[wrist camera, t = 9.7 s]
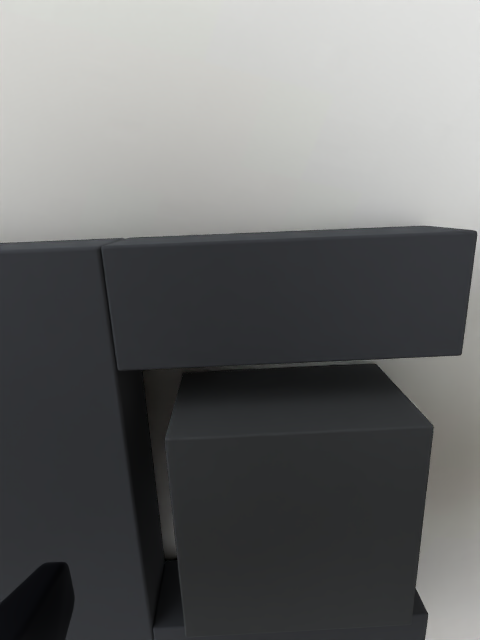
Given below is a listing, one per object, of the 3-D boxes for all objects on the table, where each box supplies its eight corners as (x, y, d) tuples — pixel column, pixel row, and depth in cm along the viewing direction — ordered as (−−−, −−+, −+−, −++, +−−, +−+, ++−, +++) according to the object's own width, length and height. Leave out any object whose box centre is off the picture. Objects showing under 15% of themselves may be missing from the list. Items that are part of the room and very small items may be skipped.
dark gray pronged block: (390, 609, 12) (420, 683, 11) (-50, 633, 12) (-102, 713, 10) (426, 225, 9) (479, 230, 7) (-179, 250, 9) (-292, 262, 7)
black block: (366, 521, 11) (412, 625, 9) (196, 529, 11) (185, 638, 9) (376, 362, 10) (434, 425, 7) (182, 372, 10) (163, 439, 7)
